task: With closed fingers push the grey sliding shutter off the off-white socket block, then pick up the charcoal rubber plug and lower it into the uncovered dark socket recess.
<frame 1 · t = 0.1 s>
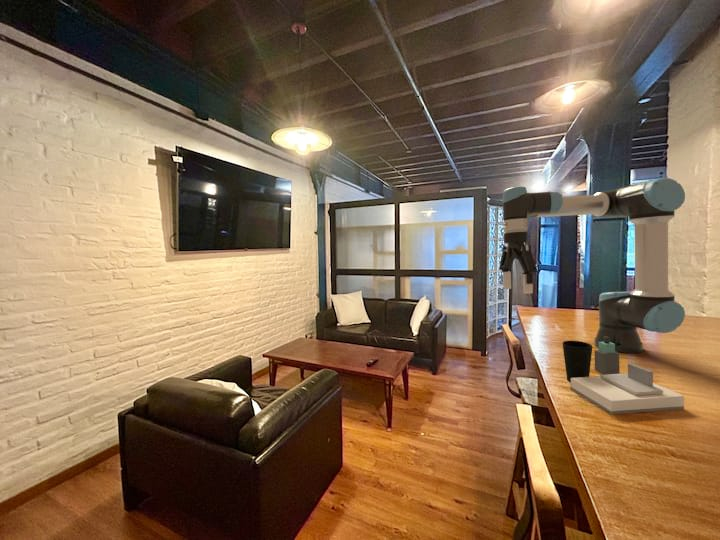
hand: (517, 291, 106), 28 cm above the table, fingers open, 13 cm apart
socket board: (622, 398, 82), on the table
plug: (606, 372, 99), on the table
shutter: (629, 376, 82), point 6 cm above the table, slide at 0.0 cm
cup: (577, 381, 94), on the table
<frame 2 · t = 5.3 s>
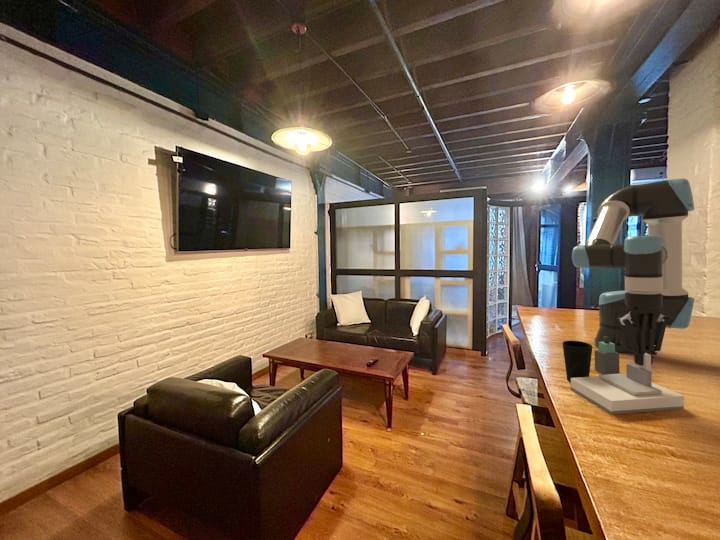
hand: (643, 376, 82), 6 cm above the table, fingers closed
shutter: (628, 376, 82), point 6 cm above the table, slide at 0.4 cm, touching gripper
everything else where it was.
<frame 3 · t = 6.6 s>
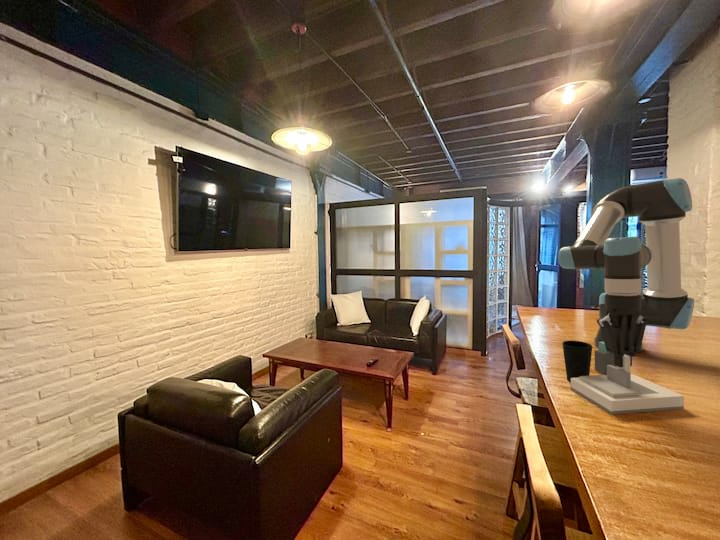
hand: (623, 377, 82), 6 cm above the table, fingers closed
shutter: (607, 378, 82), point 6 cm above the table, slide at 6.2 cm, touching gripper
everything else where it was.
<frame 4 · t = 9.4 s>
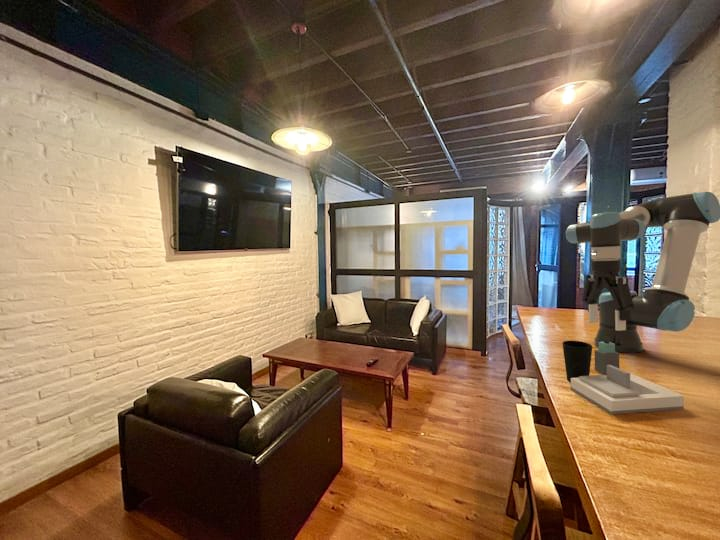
hand: (606, 326, 99), 16 cm above the table, fingers open, 10 cm apart
shutter: (607, 378, 82), point 6 cm above the table, slide at 6.3 cm
everything else where it was.
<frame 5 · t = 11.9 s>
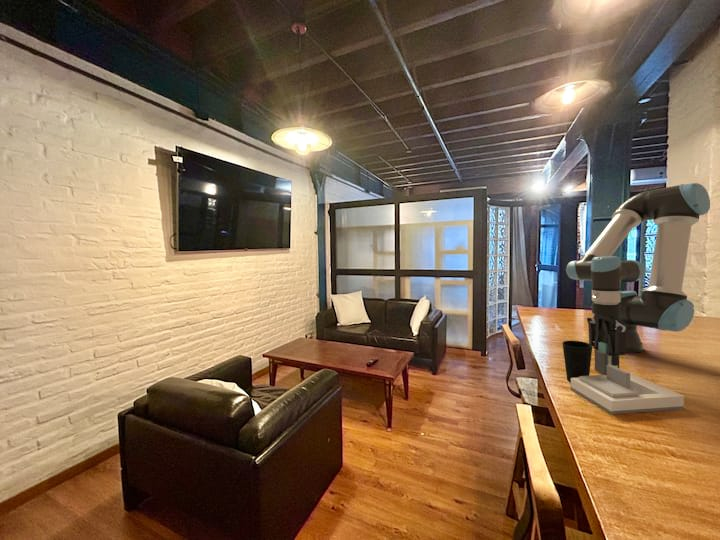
hand: (606, 371, 99), 0 cm above the table, fingers closed on plug, 4 cm apart
plug: (606, 372, 99), on the table, touching gripper
everything else where it was.
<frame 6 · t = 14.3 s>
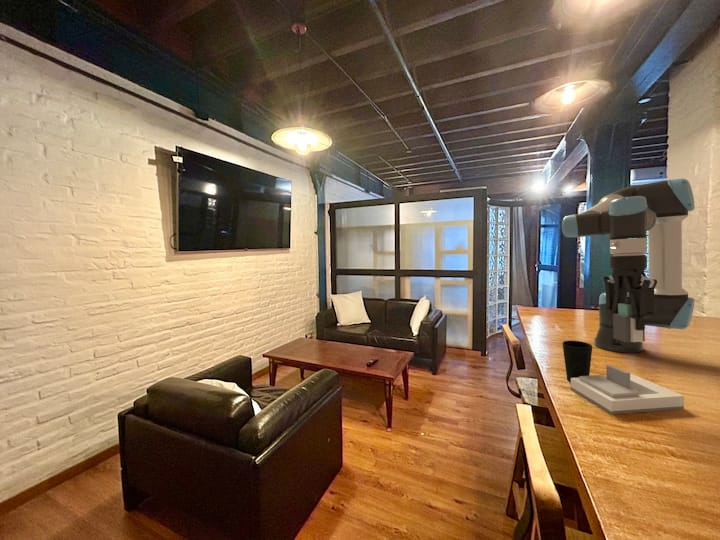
hand: (628, 338, 82), 17 cm above the table, fingers closed on plug, 4 cm apart
plug: (628, 339, 82), point 16 cm above the table, touching gripper
everything else where it was.
when the fingers open (3 cm above the table, at t = 17.0 s): plug drops 2 cm, resting on socket board.
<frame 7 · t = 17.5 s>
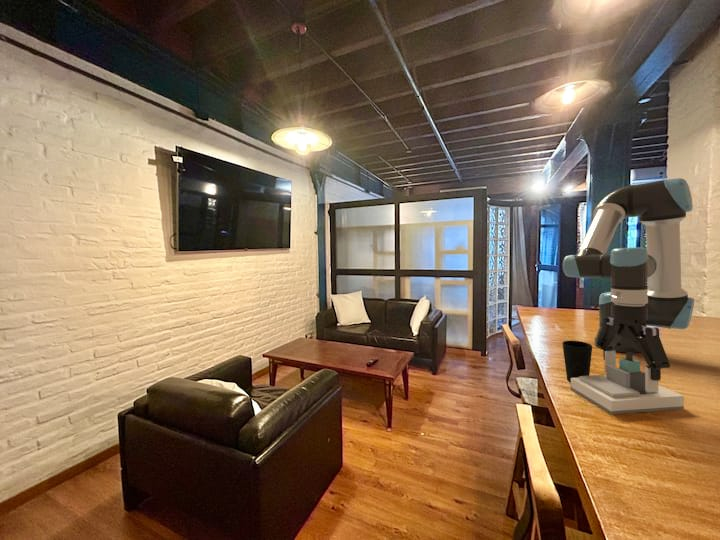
hand: (629, 381, 82), 5 cm above the table, fingers open, 11 cm apart
plug: (629, 395, 82), point 1 cm above the table, touching socket board
everything else where it was.
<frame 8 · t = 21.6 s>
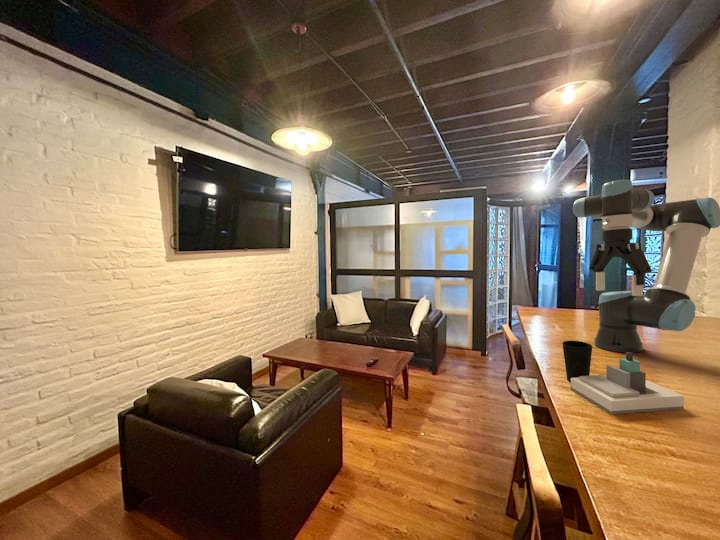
hand: (617, 292, 98), 27 cm above the table, fingers open, 13 cm apart
nothing on the table moved.
at the end: plug 0.1 cm from the target spot on the socket board, point 0.8 cm above the socket board's base; plug tilted 0°; shutter slide at 6.3 cm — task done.
